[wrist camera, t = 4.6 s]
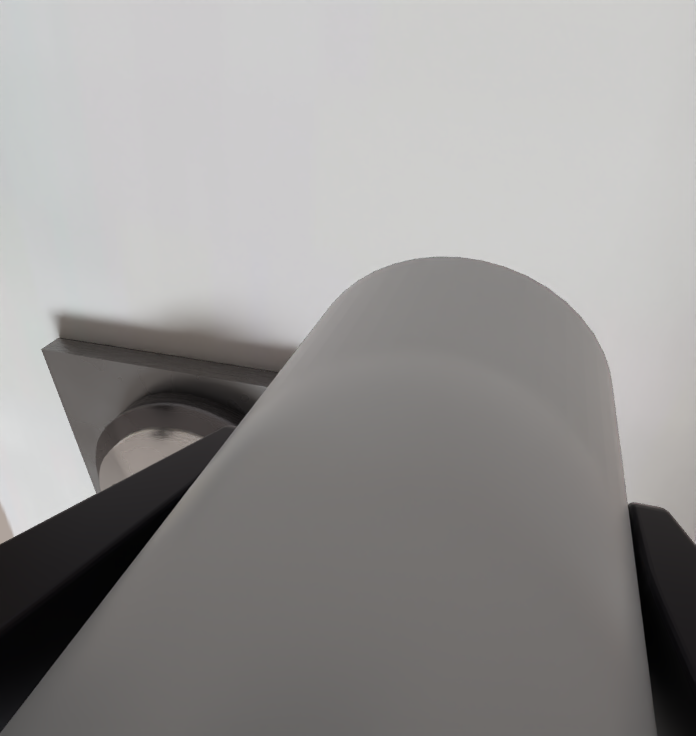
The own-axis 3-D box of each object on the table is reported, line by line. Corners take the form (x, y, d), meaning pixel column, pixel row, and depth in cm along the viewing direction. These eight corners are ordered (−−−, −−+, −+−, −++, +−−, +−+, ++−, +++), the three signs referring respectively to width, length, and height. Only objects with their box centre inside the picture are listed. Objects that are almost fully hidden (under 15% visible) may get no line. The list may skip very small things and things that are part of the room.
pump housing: (652, 273, 7) (1283, 2208, 1) (577, 534, 10) (603, 1478, 4) (297, 243, 9) (-448, 913, 2) (317, 479, 11) (0, 1088, 5)
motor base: (366, 386, 20) (340, 437, 18) (369, 591, 27) (350, 648, 24) (58, 337, 24) (3, 374, 22) (126, 526, 31) (89, 571, 28)
